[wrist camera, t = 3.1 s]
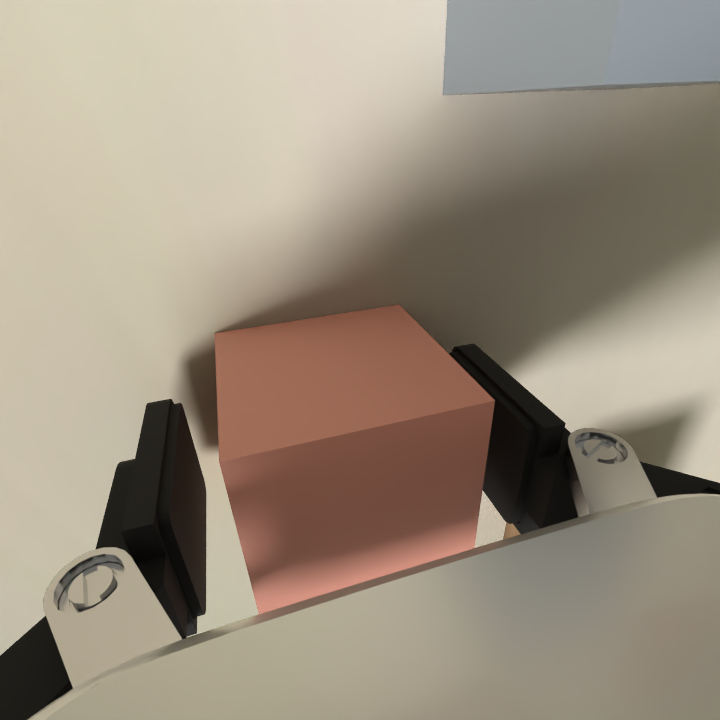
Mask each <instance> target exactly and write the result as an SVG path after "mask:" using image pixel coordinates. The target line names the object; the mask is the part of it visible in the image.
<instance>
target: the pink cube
mask: <svg viewBox="0 0 720 720" xmlns="http://www.w3.org/2000/svg"><path fill="white" fill-rule="evenodd" d="M215 358H216V386H217V413H218V440H219V463H220V466H221V470H222V474H223V478H224V482H225V486H226V489H227V493H228V497H229V501H230V505H231V509H232V512H233V516H234V520H235V524H236V528H237V532H238V535H239V539H240V543H241V547H242V551H243V555H244V558H245V562H246V566H247V570H248V574H249V577H250V581H251V585H252V589H253V593H254V597H255V600H256V604H257V608H258V612H259V614H262V613H265V612H268V611H271V610H275V609H278V608H281V607H284V606H288V605H291V604H294V603H297V602H301V601H304V600H307V599H310V598H313V597H317V596H320V595H323V594H326V593H330V592H333V591H336V590H339V589H343V588H346V587H349V586H352V585H356V584H359V583H362V582H365V581H368V580H372V579H375V578H378V577H382V576H385V575H388V574H391V573H395V572H398V571H401V570H405V569H408V568H411V567H414V566H418V565H421V564H424V563H428V562H431V561H434V560H438V559H441V558H444V557H447V556H451V555H454V554H457V553H461V552H464V551H467V550H471V549H474V545H475V538H476V531H477V524H478V517H479V510H480V503H481V496H482V489H483V482H484V475H485V468H486V461H487V454H488V447H489V439H490V432H491V425H492V418H493V411H494V404H495V400H494V399H493V398H492V397H491V396H490V395H489V394H488V393H487V392H486V391H485V390H484V389H483V388H482V387H481V386H480V385H479V384H478V383H477V382H476V381H475V380H474V379H473V378H472V377H471V376H470V375H469V374H468V373H467V372H466V371H465V370H464V369H463V368H462V367H461V366H460V365H459V364H458V363H457V362H456V361H455V360H454V359H453V358H452V357H451V356H450V355H449V354H448V353H447V352H446V351H445V350H444V349H443V348H442V347H441V346H440V345H439V344H438V343H437V342H436V341H435V340H434V339H433V338H432V337H431V336H430V335H429V334H428V333H427V332H426V331H425V330H424V329H423V328H422V327H421V326H420V325H419V324H418V323H417V322H416V321H415V320H414V319H413V318H412V317H411V316H410V315H409V314H408V313H407V312H406V311H405V310H404V309H403V308H402V307H401V306H400V305H399V304H398V305H392V306H386V307H379V308H373V309H366V310H360V311H353V312H347V313H340V314H334V315H328V316H321V317H315V318H308V319H302V320H295V321H289V322H282V323H276V324H270V325H263V326H257V327H250V328H244V329H237V330H231V331H225V332H218V333H215Z"/></svg>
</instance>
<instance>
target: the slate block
mask: <svg viewBox="0 0 720 720" xmlns="http://www.w3.org/2000/svg"><path fill="white" fill-rule="evenodd" d="M701 84H720V0H448V1H447V21H446V41H445V61H444V81H443V95H462V94H490V93H517V92H545V91H572V90H600V89H626V88H645V87H663V86H682V85H701Z"/></svg>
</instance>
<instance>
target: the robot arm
mask: <svg viewBox="0 0 720 720" xmlns="http://www.w3.org/2000/svg"><path fill="white" fill-rule="evenodd" d="M449 355H450V356H451V357H452V358H453V359H454V360H455V361H456V362H457V363H458V364H459V365H460V366H461V367H462V368H463V369H464V370H465V371H466V372H467V373H468V374H469V375H470V376H471V377H472V378H473V379H474V380H475V381H476V382H477V383H478V384H479V385H480V386H481V387H482V388H483V389H484V390H485V391H486V392H487V393H488V394H489V395H490V396H491V397H492V398H493V399H494V400H495V404H494V411H493V418H492V425H491V432H490V439H489V447H488V454H487V461H486V468H485V475H484V482H483V489H482V490H483V491H484V492H485V494H486V495H487V497H488V498H489V499H490V501H491V502H492V503H493V505H494V506H495V508H496V509H497V510H498V512H499V513H500V515H501V516H502V517H503V519H504V520H505V521H506V522H507V523H508V524H512V523H513V525H514V526H515V527H516V529H517V530H518V532H519V533H520V534H521V535H517V536H514V537H511V538H507V539H504V540H501V541H497V542H494V543H491V544H487V545H484V546H481V547H477V548H474V549H471V550H467V551H464V552H461V553H457V554H454V555H451V556H447V557H444V558H441V559H438V560H434V561H431V562H428V563H424V564H421V565H418V566H414V567H411V568H408V569H405V570H401V571H398V572H395V573H391V574H388V575H385V576H382V577H378V578H375V579H372V580H368V581H365V582H362V583H359V584H356V585H352V586H349V587H346V588H343V589H339V590H336V591H333V592H330V593H326V594H323V595H320V596H317V597H313V598H310V599H307V600H304V601H301V602H297V603H294V604H291V605H288V606H284V607H281V608H278V609H275V610H271V611H268V612H265V613H262V614H259V615H256V616H252V617H249V618H246V619H243V620H240V621H237V622H234V623H231V624H228V625H225V626H222V627H219V628H216V629H213V630H210V631H207V632H203V633H200V634H197V635H194V636H191V637H188V638H186V636H190V635H193V634H196V633H197V616H200V615H204V614H205V612H206V487H205V482H204V478H203V475H202V471H201V468H200V464H199V461H198V457H197V454H196V450H195V447H194V443H193V440H192V436H191V433H190V430H189V426H188V423H187V419H186V416H185V412H184V409H183V406H182V404H181V403H178V404H174V403H173V401H172V399H168V400H162V401H157V402H151V403H147V405H146V409H145V414H144V419H143V424H142V429H141V433H140V438H139V443H138V448H137V453H136V458H135V459H132V460H128V461H123V462H120V463H119V464H118V465H117V468H116V471H115V475H114V479H113V483H112V487H111V491H110V495H109V499H108V503H107V507H106V511H105V515H104V519H103V523H102V526H101V530H100V534H99V538H98V542H97V546H96V550H92V551H89V552H87V553H85V554H83V555H81V556H79V557H77V558H76V559H74V560H73V561H71V562H70V563H68V564H67V565H66V566H64V567H63V568H62V569H61V570H60V571H59V572H58V574H57V575H56V576H55V577H54V578H53V579H52V581H51V583H50V584H49V586H48V587H47V589H46V592H45V595H44V598H43V606H44V612H45V615H46V616H45V617H44V618H43V619H41V620H40V621H39V622H38V623H37V624H36V625H35V626H33V627H32V628H31V629H30V630H29V631H28V632H27V633H26V634H24V635H23V636H22V637H21V638H20V639H19V640H18V641H16V642H15V643H14V644H13V645H12V646H11V647H10V648H9V649H7V650H6V651H5V652H4V653H3V654H2V655H1V656H0V720H720V483H717V482H714V481H710V480H706V479H703V478H699V477H695V476H691V475H688V474H684V473H680V472H676V471H673V470H669V469H665V468H661V467H658V466H654V465H650V464H647V463H643V462H639V460H638V457H637V455H636V453H635V451H634V450H633V448H632V447H631V446H630V444H629V443H627V442H626V441H625V440H624V439H622V438H621V437H619V436H617V435H615V434H613V433H611V432H608V431H605V430H600V429H595V428H583V429H579V430H576V431H574V432H572V433H570V432H569V431H568V430H567V429H566V428H565V424H566V423H564V422H563V421H562V420H561V419H560V418H559V417H558V416H556V415H555V414H554V413H553V412H552V411H551V410H550V409H548V408H547V407H546V406H545V405H544V404H543V403H542V402H540V401H539V400H538V399H537V398H536V397H535V396H534V395H532V394H531V393H530V392H529V391H528V390H527V389H525V388H524V387H523V386H522V385H521V384H520V383H519V382H517V381H516V380H515V379H514V378H513V377H512V376H511V375H509V374H508V373H507V372H506V371H505V370H504V369H503V368H501V367H500V366H499V365H498V364H497V363H496V362H495V361H493V360H492V359H491V358H490V357H489V356H488V355H487V354H485V353H484V352H483V351H482V350H481V349H480V348H479V347H477V346H476V345H475V344H469V345H463V346H458V347H454V348H453V350H452V353H449ZM539 528H540V529H539Z"/></svg>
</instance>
